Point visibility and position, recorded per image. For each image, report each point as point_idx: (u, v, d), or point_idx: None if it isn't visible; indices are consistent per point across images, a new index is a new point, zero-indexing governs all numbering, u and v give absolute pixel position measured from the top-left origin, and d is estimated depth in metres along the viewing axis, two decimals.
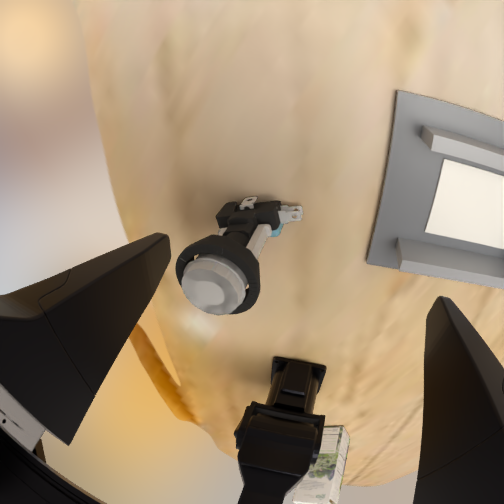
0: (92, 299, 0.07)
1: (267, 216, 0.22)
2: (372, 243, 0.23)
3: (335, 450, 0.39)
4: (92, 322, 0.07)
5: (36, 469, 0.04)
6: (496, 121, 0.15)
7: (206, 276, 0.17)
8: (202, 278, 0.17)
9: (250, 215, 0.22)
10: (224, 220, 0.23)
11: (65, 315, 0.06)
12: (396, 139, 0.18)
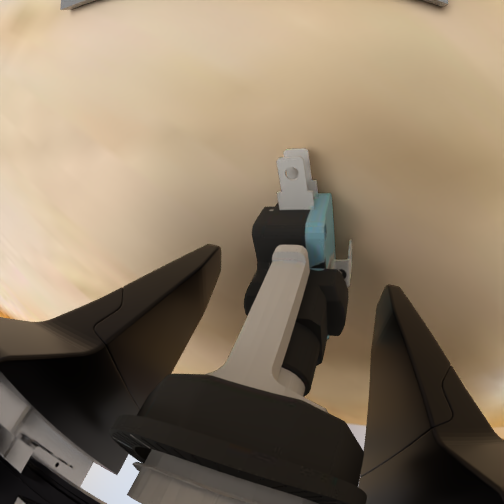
0: (153, 322, 0.07)
1: (265, 242, 0.09)
2: None
3: None
4: (150, 346, 0.07)
5: None
6: None
7: None
8: None
9: None
10: None
11: (126, 343, 0.06)
12: None
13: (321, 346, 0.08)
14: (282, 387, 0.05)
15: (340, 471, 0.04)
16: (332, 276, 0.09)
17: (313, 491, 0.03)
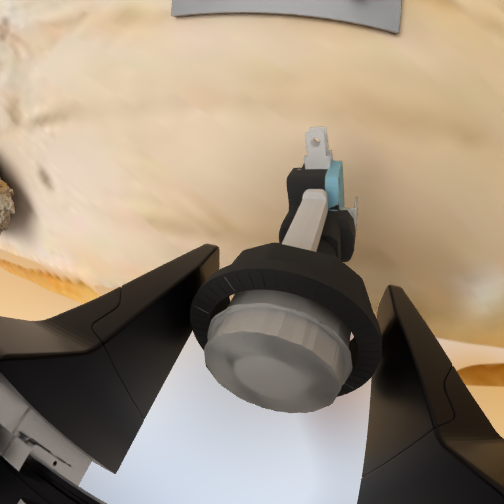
0: (150, 321, 0.07)
1: (296, 189, 0.12)
2: (364, 23, 0.13)
3: None
4: (148, 345, 0.07)
5: (36, 469, 0.04)
6: None
7: (221, 363, 0.07)
8: (229, 371, 0.08)
9: None
10: None
11: (124, 342, 0.06)
12: (220, 8, 0.14)
13: None
14: None
15: None
16: (344, 214, 0.12)
17: (349, 299, 0.06)
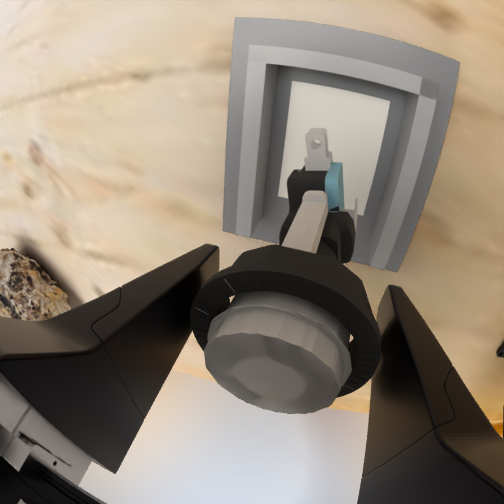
0: (150, 321, 0.07)
1: (296, 191, 0.12)
2: None
3: None
4: (148, 345, 0.07)
5: (36, 469, 0.04)
6: (229, 135, 0.20)
7: (221, 364, 0.08)
8: (229, 373, 0.08)
9: None
10: None
11: (124, 342, 0.06)
12: (265, 237, 0.24)
13: None
14: None
15: None
16: (344, 215, 0.12)
17: (348, 300, 0.06)
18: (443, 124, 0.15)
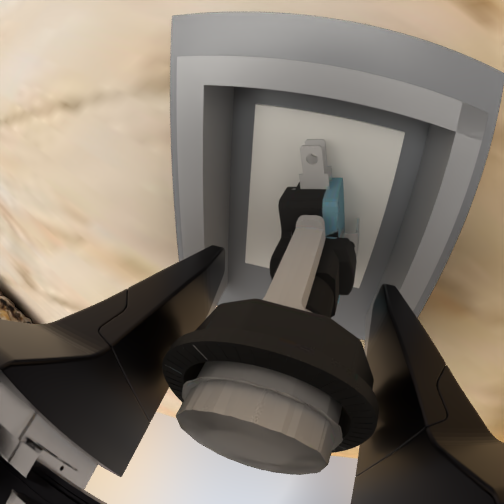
0: (158, 324, 0.07)
1: (289, 214, 0.11)
2: None
3: None
4: (155, 348, 0.07)
5: None
6: (176, 183, 0.15)
7: (196, 429, 0.06)
8: (206, 436, 0.06)
9: None
10: None
11: (131, 345, 0.06)
12: None
13: (335, 299, 0.10)
14: None
15: None
16: (344, 243, 0.10)
17: (341, 380, 0.05)
18: (478, 166, 0.10)
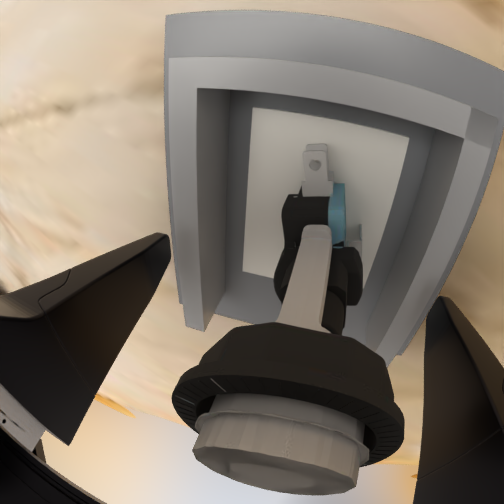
0: (92, 299, 0.07)
1: (292, 224, 0.10)
2: None
3: None
4: (92, 322, 0.07)
5: (36, 469, 0.04)
6: (171, 189, 0.14)
7: (214, 461, 0.05)
8: (225, 467, 0.06)
9: (281, 258, 0.11)
10: None
11: (65, 315, 0.06)
12: (231, 314, 0.18)
13: (345, 311, 0.09)
14: None
15: None
16: (351, 252, 0.10)
17: (374, 405, 0.04)
18: (485, 172, 0.09)
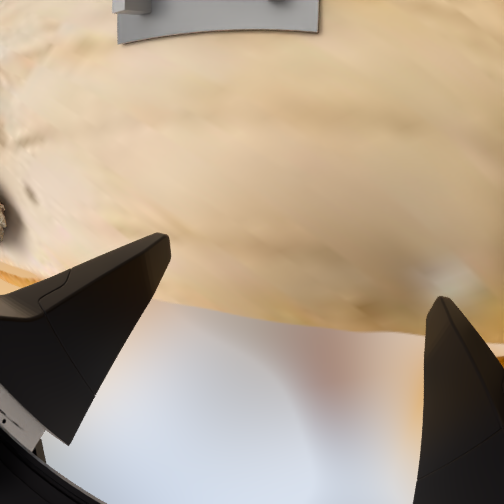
0: (92, 299, 0.07)
1: None
2: (283, 28, 0.14)
3: None
4: (92, 322, 0.07)
5: (36, 469, 0.04)
6: None
7: None
8: None
9: None
10: None
11: (65, 315, 0.06)
12: (156, 33, 0.16)
13: None
14: None
15: None
16: None
17: None
18: None
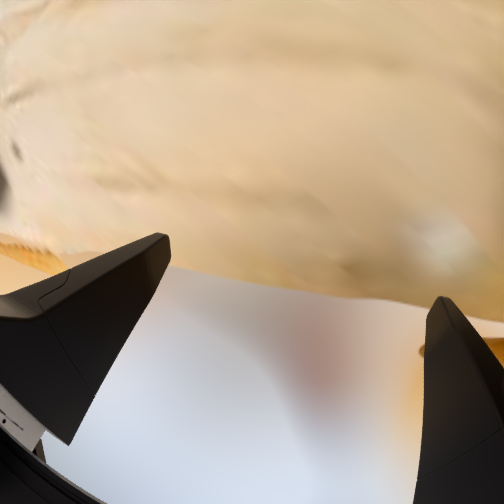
0: (92, 299, 0.07)
1: None
2: None
3: None
4: (92, 322, 0.07)
5: (36, 469, 0.04)
6: None
7: None
8: None
9: None
10: None
11: (65, 315, 0.06)
12: None
13: None
14: None
15: None
16: None
17: None
18: None
